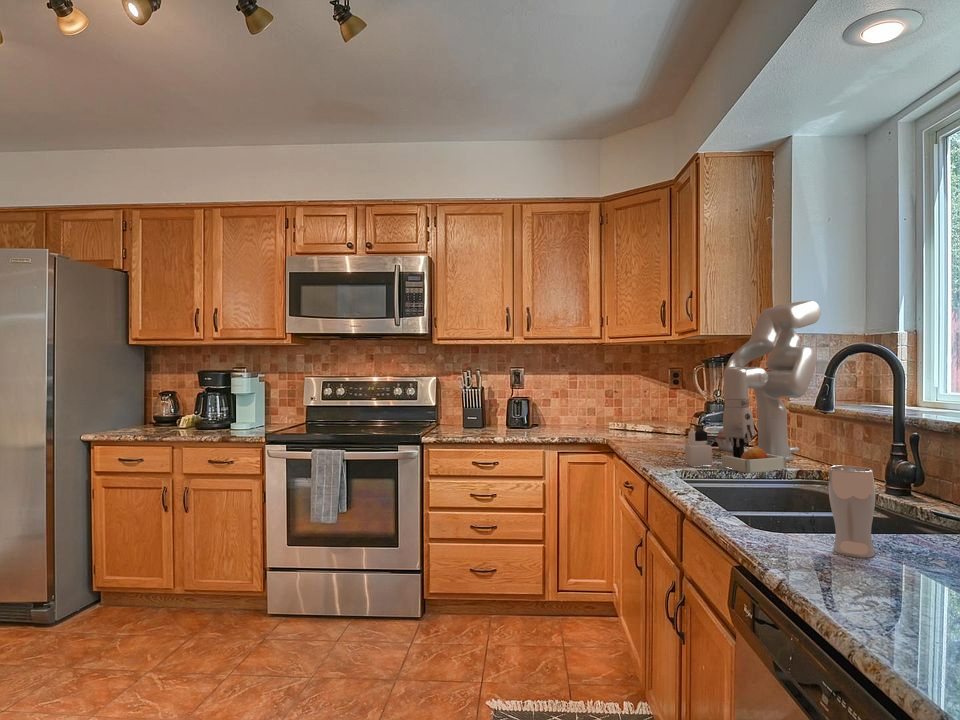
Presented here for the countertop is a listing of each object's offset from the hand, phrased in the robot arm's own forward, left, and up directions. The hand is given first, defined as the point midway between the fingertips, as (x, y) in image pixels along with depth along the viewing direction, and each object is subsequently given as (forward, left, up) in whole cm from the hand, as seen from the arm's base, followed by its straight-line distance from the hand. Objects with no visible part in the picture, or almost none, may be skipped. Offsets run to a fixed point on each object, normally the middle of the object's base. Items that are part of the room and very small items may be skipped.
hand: (738, 457), depth 191 cm
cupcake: (-20, -30, -3) cm, 36 cm away
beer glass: (+44, +82, -3) cm, 93 cm away
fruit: (+1, +8, -3) cm, 9 cm away
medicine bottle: (+12, -5, -3) cm, 14 cm away
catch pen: (0, +7, -3) cm, 7 cm away
